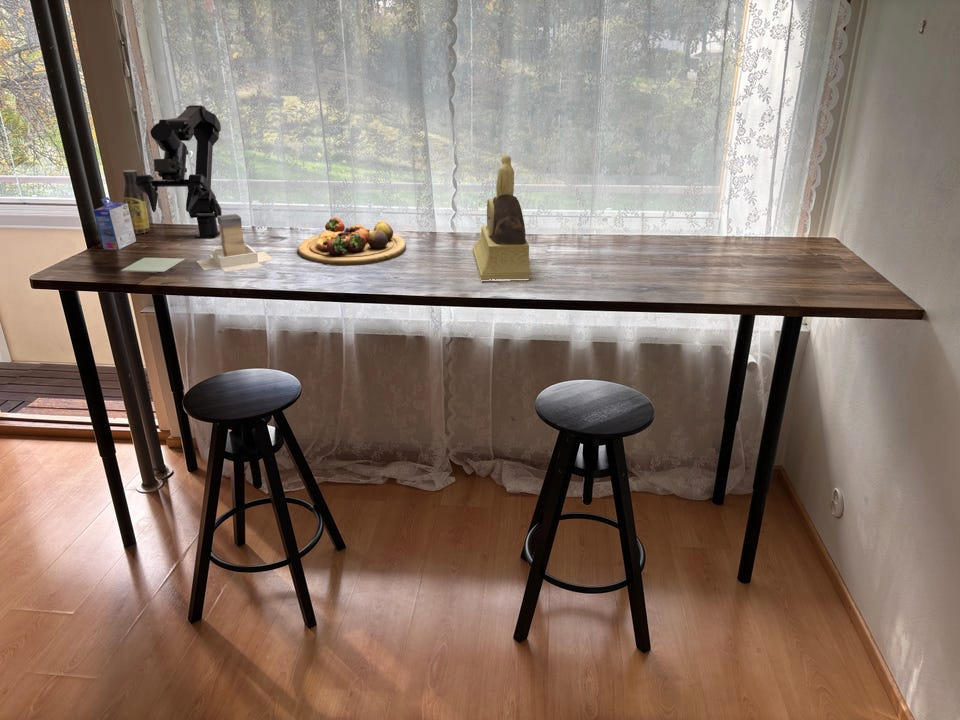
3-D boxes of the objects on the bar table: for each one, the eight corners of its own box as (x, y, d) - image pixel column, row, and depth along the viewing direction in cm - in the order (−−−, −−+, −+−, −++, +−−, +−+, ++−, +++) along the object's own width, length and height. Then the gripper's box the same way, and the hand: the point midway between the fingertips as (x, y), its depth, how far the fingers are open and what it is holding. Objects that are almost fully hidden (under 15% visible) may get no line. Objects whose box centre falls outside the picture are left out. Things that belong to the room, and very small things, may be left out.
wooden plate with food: (294, 241, 221) (290, 215, 217) (394, 232, 229) (392, 207, 226) (303, 273, 193) (300, 244, 190) (417, 261, 202) (415, 233, 198)
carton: (193, 258, 203) (191, 248, 202) (259, 248, 212) (258, 239, 211) (207, 275, 188) (206, 264, 187) (278, 264, 197) (277, 254, 196)
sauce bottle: (125, 234, 227) (112, 171, 219) (137, 229, 233) (124, 168, 225) (144, 235, 226) (131, 172, 218) (155, 230, 232) (143, 169, 224)
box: (223, 259, 201) (216, 215, 195) (242, 256, 203) (236, 213, 198) (228, 264, 197) (221, 219, 191) (247, 261, 199) (240, 217, 194)
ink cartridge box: (120, 241, 220) (110, 194, 214) (137, 241, 219) (127, 194, 213) (101, 249, 211) (90, 201, 205) (119, 250, 210) (108, 201, 204)
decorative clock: (472, 252, 209) (472, 148, 196) (515, 251, 210) (518, 147, 197) (481, 282, 183) (481, 164, 171) (529, 281, 184) (533, 164, 172)
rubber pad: (144, 258, 202) (144, 257, 202) (184, 260, 201) (184, 258, 201) (121, 271, 191) (121, 270, 191) (163, 272, 190) (163, 271, 190)
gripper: (128, 145, 190) (122, 197, 187) (198, 145, 191) (194, 197, 187) (145, 166, 201) (140, 216, 197) (212, 166, 202) (208, 216, 198)
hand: (170, 211), depth 195 cm, fingers open, 9 cm apart
